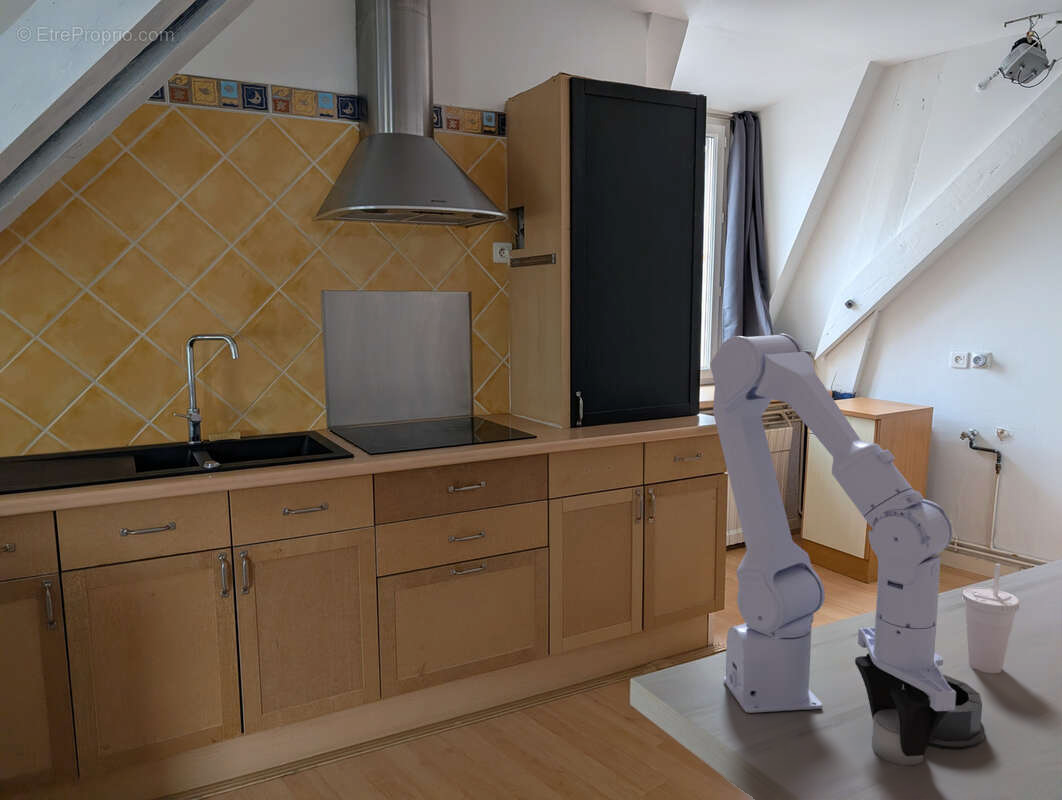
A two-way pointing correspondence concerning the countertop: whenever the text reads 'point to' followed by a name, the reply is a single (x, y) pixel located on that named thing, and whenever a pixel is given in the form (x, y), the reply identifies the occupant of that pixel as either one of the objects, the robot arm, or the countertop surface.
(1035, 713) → the countertop surface
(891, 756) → the cap
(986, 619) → the smoothie
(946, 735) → the dark grey pot
